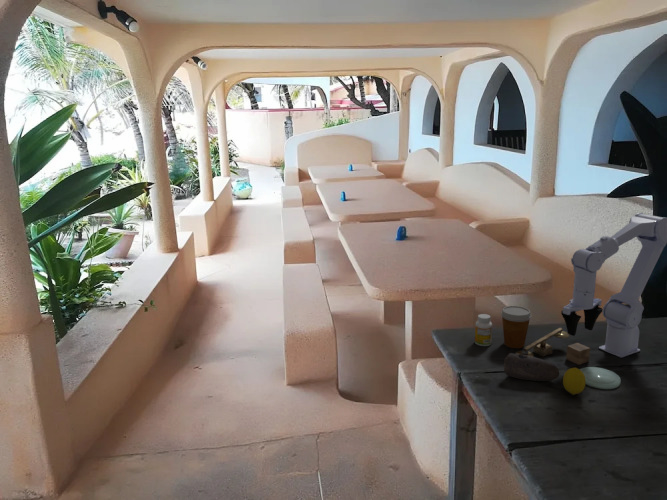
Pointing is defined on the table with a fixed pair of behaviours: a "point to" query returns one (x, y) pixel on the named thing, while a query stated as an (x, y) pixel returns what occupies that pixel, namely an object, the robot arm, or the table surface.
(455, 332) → the table surface
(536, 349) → the balance
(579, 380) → the lemon
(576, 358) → the block
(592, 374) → the dish
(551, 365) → the perforated stone tool
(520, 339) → the disposable coffee cup
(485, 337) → the supplement bottle
